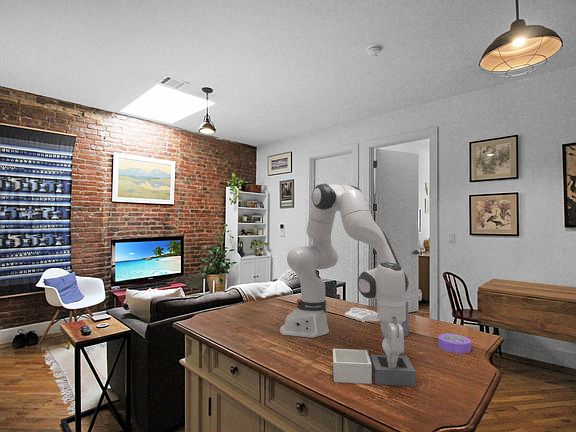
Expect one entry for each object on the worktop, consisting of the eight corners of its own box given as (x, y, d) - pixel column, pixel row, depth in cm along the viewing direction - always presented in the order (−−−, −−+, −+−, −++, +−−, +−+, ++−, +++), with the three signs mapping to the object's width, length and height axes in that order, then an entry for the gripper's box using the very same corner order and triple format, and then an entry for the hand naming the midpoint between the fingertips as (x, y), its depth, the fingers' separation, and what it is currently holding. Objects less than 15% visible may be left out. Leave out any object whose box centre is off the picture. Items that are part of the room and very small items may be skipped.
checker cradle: (375, 384, 103) (375, 369, 103) (370, 367, 115) (370, 354, 115) (416, 386, 102) (416, 371, 102) (406, 369, 114) (406, 355, 114)
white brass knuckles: (340, 316, 178) (358, 312, 187) (366, 324, 164) (385, 319, 173) (340, 310, 179) (358, 306, 187) (366, 318, 164) (385, 313, 173)
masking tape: (475, 348, 133) (475, 338, 133) (465, 356, 125) (465, 346, 125) (444, 340, 141) (444, 331, 141) (433, 348, 133) (433, 338, 133)
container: (410, 338, 144) (409, 303, 144) (385, 336, 146) (384, 302, 146) (406, 330, 154) (406, 297, 154) (383, 329, 156) (383, 297, 156)
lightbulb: (379, 366, 111) (379, 333, 111) (397, 365, 111) (397, 332, 112) (386, 374, 105) (386, 339, 105) (405, 374, 105) (404, 338, 106)
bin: (333, 382, 105) (333, 362, 105) (333, 366, 116) (332, 348, 116) (371, 383, 103) (371, 364, 103) (367, 367, 115) (367, 350, 115)
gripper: (409, 323, 98) (410, 371, 98) (395, 306, 118) (395, 345, 118) (387, 322, 99) (387, 370, 98) (376, 305, 119) (377, 345, 119)
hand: (391, 356), depth 108 cm, fingers closed on lightbulb, 5 cm apart
